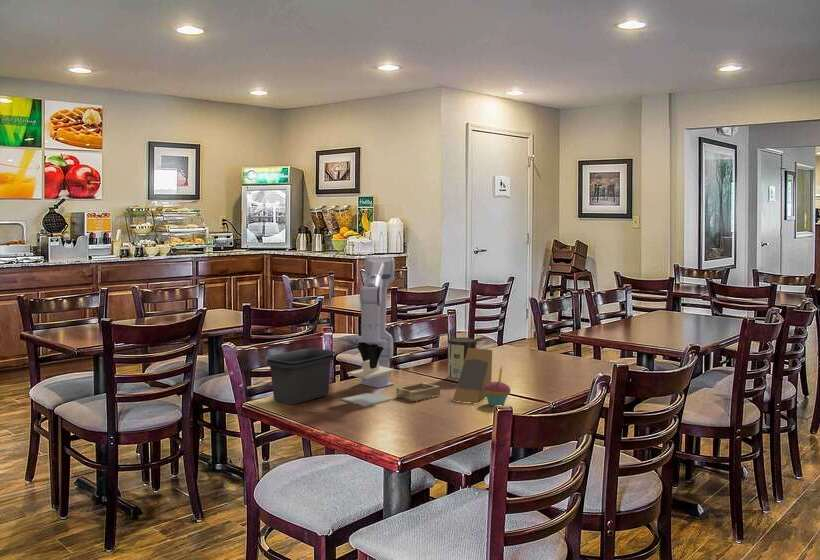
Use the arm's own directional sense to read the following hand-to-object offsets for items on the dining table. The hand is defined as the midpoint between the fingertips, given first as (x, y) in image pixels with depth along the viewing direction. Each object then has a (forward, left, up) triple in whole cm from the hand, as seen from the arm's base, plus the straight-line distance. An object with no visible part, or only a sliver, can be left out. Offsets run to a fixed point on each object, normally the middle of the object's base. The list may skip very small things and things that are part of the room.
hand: (370, 367), depth 234 cm
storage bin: (-18, -15, -11) cm, 25 cm away
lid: (0, 0, -2) cm, 2 cm away
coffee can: (-1, +45, -11) cm, 47 cm away
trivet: (-1, -1, -10) cm, 10 cm away
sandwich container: (+20, +26, -11) cm, 34 cm away
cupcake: (+31, +24, -11) cm, 41 cm away
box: (+7, +14, -10) cm, 19 cm away
